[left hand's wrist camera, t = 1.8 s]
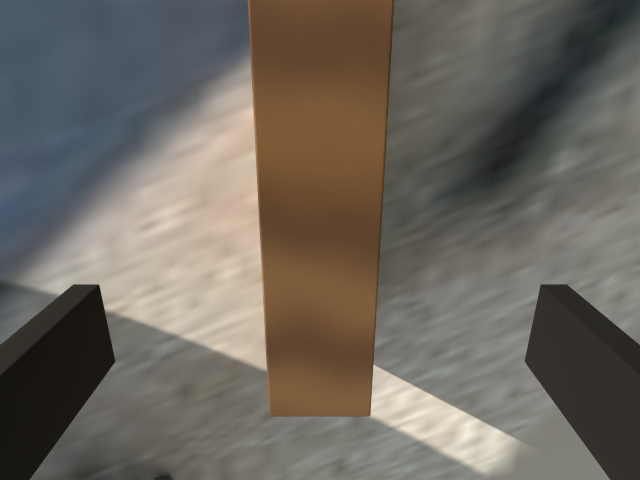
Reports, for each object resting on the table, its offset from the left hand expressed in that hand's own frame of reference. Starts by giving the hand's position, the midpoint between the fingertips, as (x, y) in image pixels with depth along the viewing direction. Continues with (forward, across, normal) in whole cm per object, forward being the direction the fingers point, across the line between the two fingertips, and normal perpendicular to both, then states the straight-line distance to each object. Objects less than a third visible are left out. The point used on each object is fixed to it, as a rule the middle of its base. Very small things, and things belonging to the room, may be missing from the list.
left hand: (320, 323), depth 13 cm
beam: (+13, 0, -34) cm, 36 cm away
